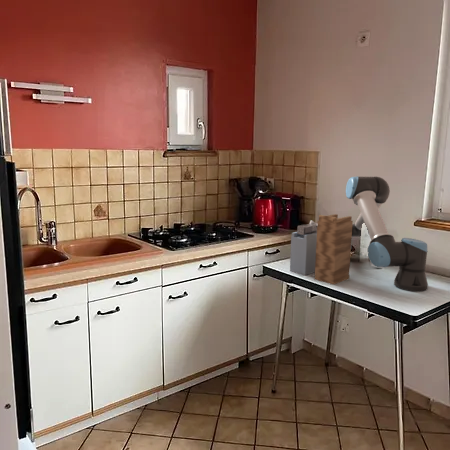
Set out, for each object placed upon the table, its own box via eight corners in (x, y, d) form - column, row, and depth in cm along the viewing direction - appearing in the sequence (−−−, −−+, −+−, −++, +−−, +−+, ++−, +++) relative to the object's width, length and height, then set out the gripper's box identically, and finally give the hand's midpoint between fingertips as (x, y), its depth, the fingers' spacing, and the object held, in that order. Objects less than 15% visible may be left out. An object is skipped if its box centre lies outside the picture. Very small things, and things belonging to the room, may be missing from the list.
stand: (348, 278, 232) (353, 214, 226) (333, 284, 222) (337, 217, 216) (330, 274, 240) (334, 212, 234) (314, 279, 230) (317, 214, 224)
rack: (320, 270, 246) (322, 232, 242) (305, 275, 237) (306, 235, 233) (305, 266, 254) (307, 229, 250) (289, 271, 244) (291, 232, 240)
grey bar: (329, 229, 251) (329, 222, 250) (304, 235, 236) (304, 227, 235) (321, 228, 254) (321, 221, 254) (296, 233, 239) (296, 226, 239)
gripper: (345, 247, 253) (325, 231, 238) (319, 242, 266) (298, 227, 250) (349, 235, 255) (330, 218, 239) (324, 230, 267) (303, 214, 251)
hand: (314, 223), depth 244 cm, fingers closed on grey bar, 4 cm apart
